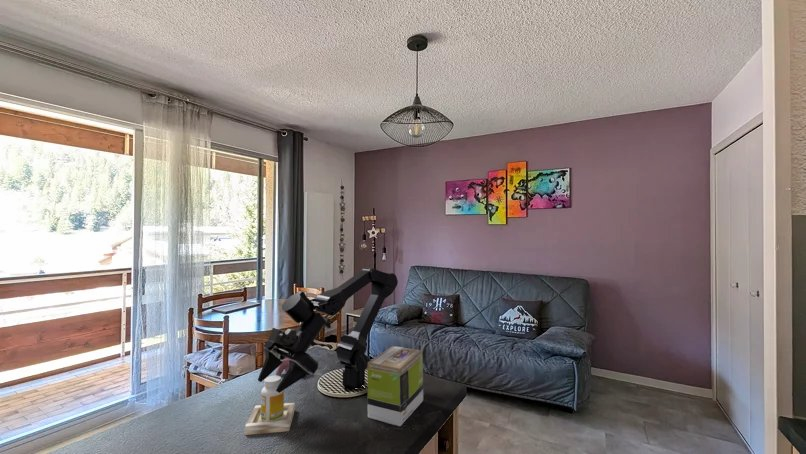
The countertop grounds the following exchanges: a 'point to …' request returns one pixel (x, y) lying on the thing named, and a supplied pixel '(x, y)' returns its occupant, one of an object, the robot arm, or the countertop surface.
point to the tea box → (395, 384)
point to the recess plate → (281, 425)
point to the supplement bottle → (272, 400)
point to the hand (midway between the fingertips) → (268, 386)
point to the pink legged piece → (283, 366)
